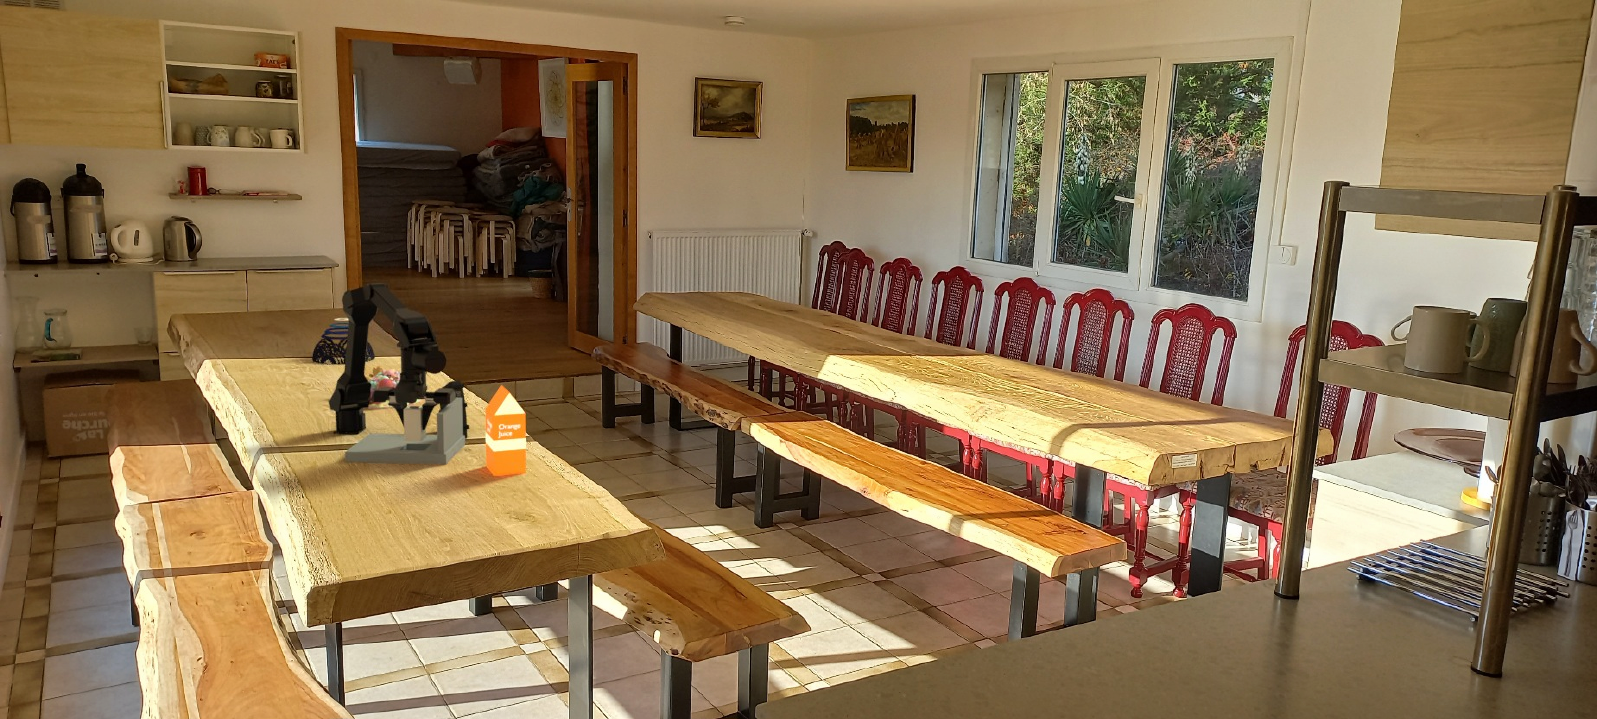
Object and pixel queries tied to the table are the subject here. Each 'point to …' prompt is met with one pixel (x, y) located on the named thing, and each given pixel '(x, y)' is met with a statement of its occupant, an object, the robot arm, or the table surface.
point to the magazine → (458, 389)
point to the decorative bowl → (322, 348)
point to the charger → (413, 424)
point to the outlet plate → (415, 443)
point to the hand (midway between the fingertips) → (415, 429)
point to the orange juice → (505, 435)
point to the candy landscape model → (383, 385)
